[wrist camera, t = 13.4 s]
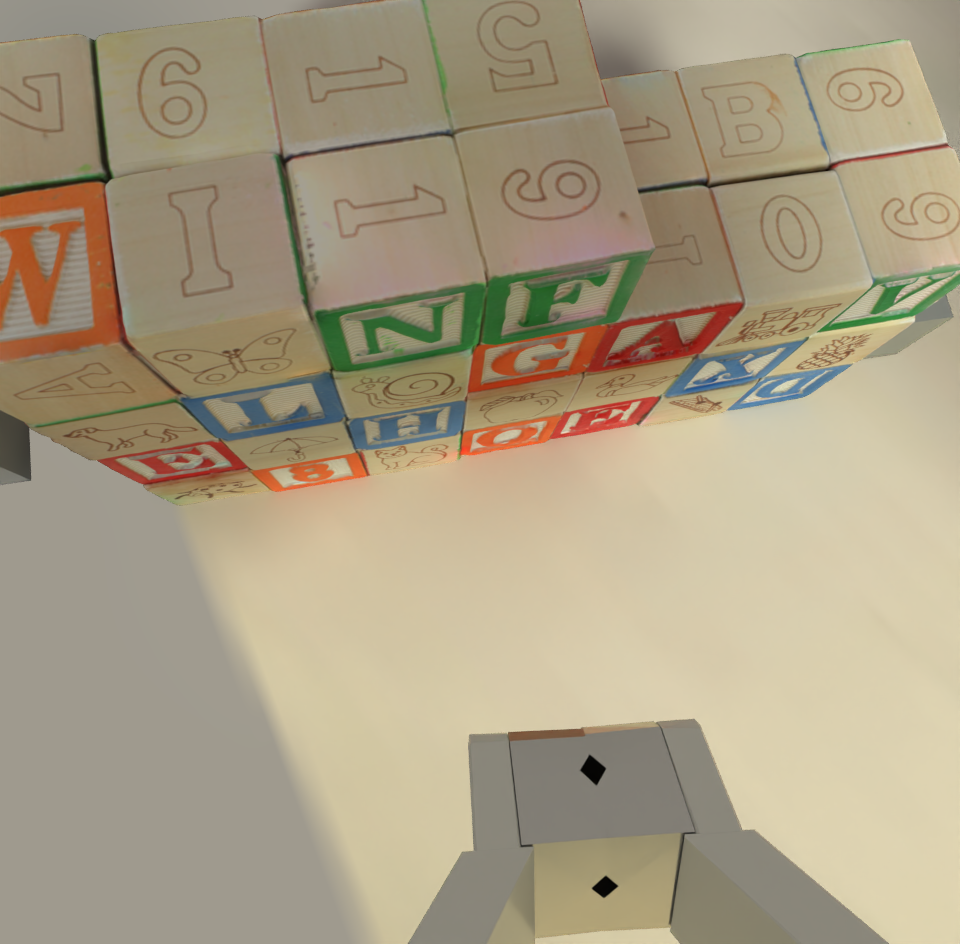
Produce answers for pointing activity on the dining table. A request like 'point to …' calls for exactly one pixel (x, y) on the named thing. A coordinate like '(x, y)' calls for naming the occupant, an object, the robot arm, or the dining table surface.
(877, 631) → the dining table surface
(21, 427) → the frame
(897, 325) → the stack of blocks
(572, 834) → the robot arm
